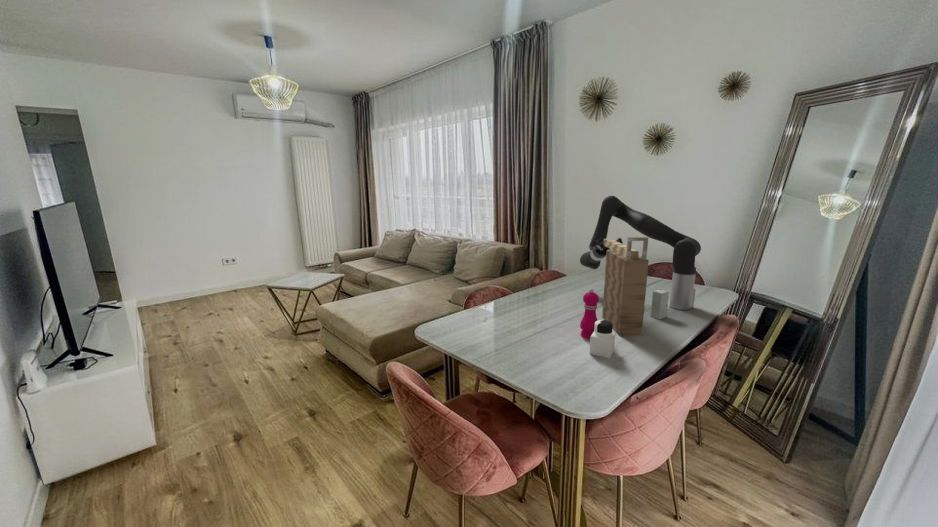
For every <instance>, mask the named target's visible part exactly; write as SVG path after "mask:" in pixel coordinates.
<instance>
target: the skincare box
mask: <svg viewBox="0 0 938 527" xmlns="http://www.w3.org/2000/svg"><path fill="white" fill-rule="evenodd" d="M669 294H670V292H669V291H668V290H665V289H660V288H659V289H657V290H652V297H651V298H652V300H651V311H650V317H651V318H653V319H656V320H662V319H665V318H666V317H667V316H668V304H669Z"/></svg>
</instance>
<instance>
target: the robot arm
mask: <svg viewBox="0 0 938 527" xmlns="http://www.w3.org/2000/svg"><path fill="white" fill-rule="evenodd" d="M599 210H600V211H599V215H598V219H597V223H596V225H595V230H594V231H593V232H594V233H593V234H592V237H591V239H590V243H589V244H588V248H589V251H586V252H584V253H582V255H581V256H580V259H579V263H580V265H581V266H583V267H586V268H589V269H592V270H597V269H599V267H600V265H601V261H602V260H604V259H606V252H607V250H612V249H610V248H608V247H606V246H604V245H603V244H604V239H608V238H607V237H608V233H609V227H610V226H609V225H610V223H611V220H612V217H614V218H617V219H619V220H621V221H622V222H625V223H626V224H628V225H629V226H630V227H631V228H632V229H634V230H635V231H636V232H639V233H640V234H641V235H644V237H648V239H649V238H650V239H652V240H655V241H659V242H662V243H664V244H667V245H669V246H670V247H672V248H673V253H672V269H673V270H672V271H673V272H672V279H671V287H670V289H671V290H670V296H669V297H670V299H669V307H670V308H672V309H676V310H679V311H690V310H691V309H694V305H695V297H696V288H695V282H696V274H697V267H696V266H695V264H696V256H697V255H699V254H700V253H701V250H702V246H701V243H700V242H699V241H698V240H696V239H695V238H693V237H691V236H688V235H685V234H683V233H681V232H679V231H676V230H674V228H671V227H670V226H668V225H666V224H664V223H663V222H662V221H659V220H658V219H656V218H655V217H653V216H651V215H648V214H646V213H644V212H641V211H638V210H635V209H633V208H632V207H630V206H628V205H627V204H625V203H624V202H623V201H622V200H621V199H619V198H618V197H617V196H615V195H608V196H606V197H605V198H603V200H602V202H601V206H600V209H599ZM615 241H617V242H619V243H621V244H623V243H624V242H623V239H622V238H621V237H618V238H617V239H616V240H615ZM623 245H624V244H623Z"/></svg>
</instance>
